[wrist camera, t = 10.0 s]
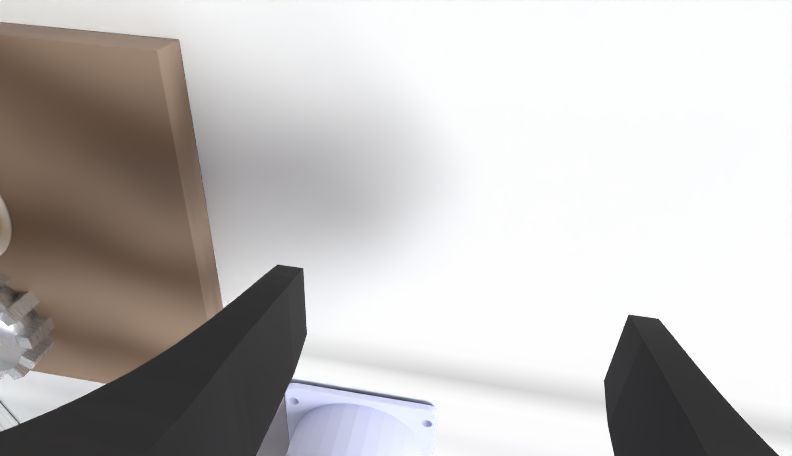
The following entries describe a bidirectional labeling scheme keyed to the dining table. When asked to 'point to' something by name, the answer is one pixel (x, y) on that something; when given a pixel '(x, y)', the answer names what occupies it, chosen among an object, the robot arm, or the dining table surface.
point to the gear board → (102, 196)
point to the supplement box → (6, 419)
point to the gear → (21, 331)
